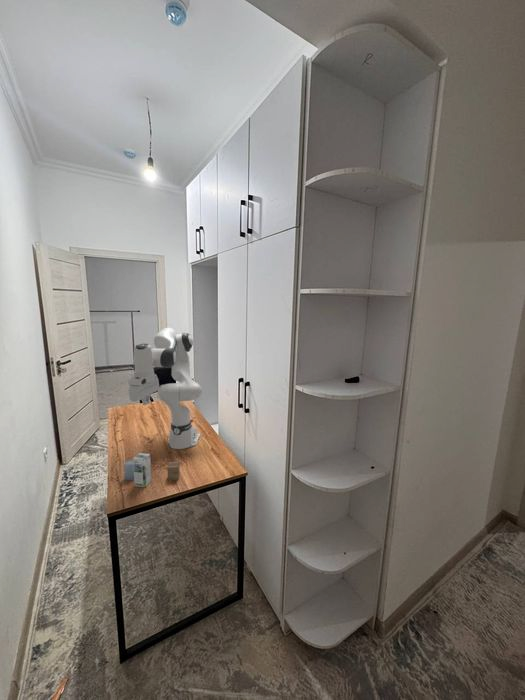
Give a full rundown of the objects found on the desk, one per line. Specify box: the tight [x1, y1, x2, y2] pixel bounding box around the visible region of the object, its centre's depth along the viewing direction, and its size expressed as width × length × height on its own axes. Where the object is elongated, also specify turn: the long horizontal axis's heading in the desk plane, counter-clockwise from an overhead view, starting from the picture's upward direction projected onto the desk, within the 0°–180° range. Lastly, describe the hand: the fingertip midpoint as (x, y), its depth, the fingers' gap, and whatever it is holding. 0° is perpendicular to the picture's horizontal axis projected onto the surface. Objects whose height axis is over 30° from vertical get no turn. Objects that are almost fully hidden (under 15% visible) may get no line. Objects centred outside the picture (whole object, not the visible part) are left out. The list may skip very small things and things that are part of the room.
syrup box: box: [132, 452, 152, 488], centre depth 139 cm, size 6×6×14 cm
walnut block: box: [166, 461, 180, 482], centre depth 145 cm, size 5×5×7 cm
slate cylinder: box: [123, 459, 134, 482], centre depth 144 cm, size 5×5×8 cm
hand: (146, 404), depth 143 cm, fingers closed
